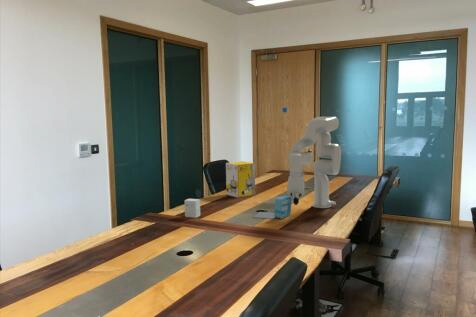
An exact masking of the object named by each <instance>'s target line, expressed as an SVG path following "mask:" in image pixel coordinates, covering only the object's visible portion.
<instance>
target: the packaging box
mask: <svg viewBox="0 0 476 317" xmlns="http://www.w3.org/2000/svg"><path fill="white" fill-rule="evenodd" d="M225 180H226V181H225V186H226V187H225V188H226V190H225V191H226V195H228V196H231V197H234V198H237V199H239V198H244V197H250V196H256V163H255V162H250V161H243V160H242V161H232V162H231V161H230V162H226V163H225Z"/></svg>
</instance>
